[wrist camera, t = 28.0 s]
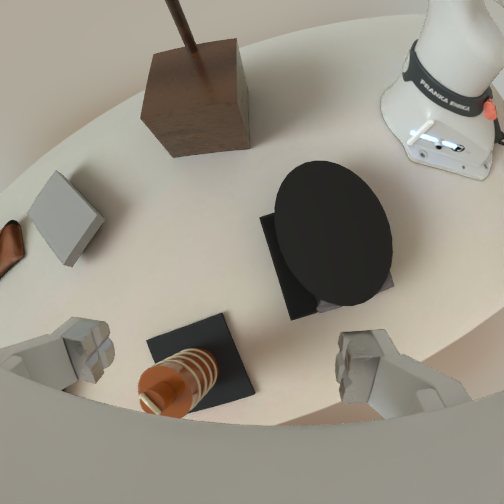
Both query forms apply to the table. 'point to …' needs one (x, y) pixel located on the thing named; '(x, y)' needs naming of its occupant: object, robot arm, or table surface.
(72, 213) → the grey rectangular block
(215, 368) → the brown banded bottle
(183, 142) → the hanger rack
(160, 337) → the rubber mat
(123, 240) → the table surface
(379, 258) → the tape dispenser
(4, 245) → the sunglasses case
